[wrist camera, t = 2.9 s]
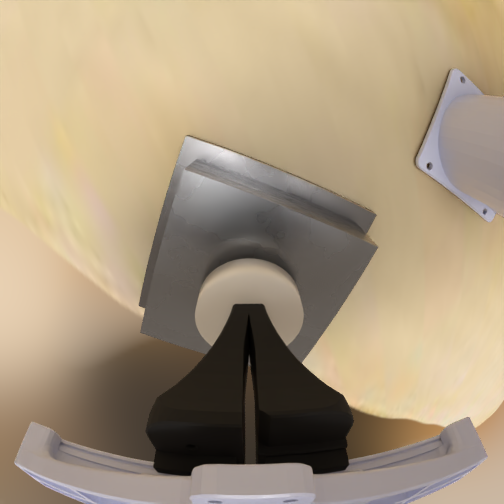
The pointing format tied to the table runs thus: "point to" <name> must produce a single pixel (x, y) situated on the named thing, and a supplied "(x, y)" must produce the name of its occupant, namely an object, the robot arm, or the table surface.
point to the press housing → (250, 241)
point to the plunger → (249, 297)
